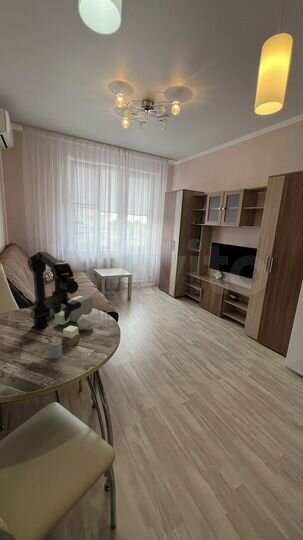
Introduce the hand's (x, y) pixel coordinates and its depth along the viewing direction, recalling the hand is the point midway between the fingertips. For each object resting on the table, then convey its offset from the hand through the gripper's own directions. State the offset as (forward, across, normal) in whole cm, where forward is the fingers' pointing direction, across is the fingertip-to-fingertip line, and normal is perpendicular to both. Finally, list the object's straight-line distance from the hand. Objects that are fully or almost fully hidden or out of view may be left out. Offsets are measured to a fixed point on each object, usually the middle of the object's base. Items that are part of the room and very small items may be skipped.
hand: (62, 319), depth 107 cm
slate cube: (+13, +4, -9) cm, 16 cm away
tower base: (+13, +2, +3) cm, 13 cm away
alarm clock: (+13, -14, +27) cm, 34 cm away
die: (+13, 0, +18) cm, 22 cm away
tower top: (+9, +2, +3) cm, 10 cm away
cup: (+13, -30, +24) cm, 41 cm away
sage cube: (+1, 0, 0) cm, 1 cm away
